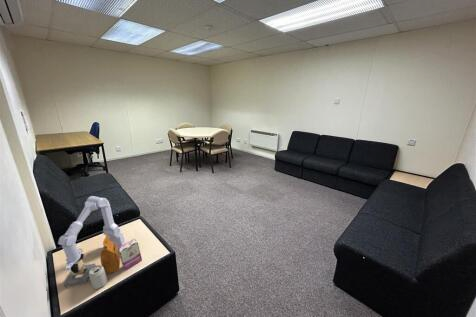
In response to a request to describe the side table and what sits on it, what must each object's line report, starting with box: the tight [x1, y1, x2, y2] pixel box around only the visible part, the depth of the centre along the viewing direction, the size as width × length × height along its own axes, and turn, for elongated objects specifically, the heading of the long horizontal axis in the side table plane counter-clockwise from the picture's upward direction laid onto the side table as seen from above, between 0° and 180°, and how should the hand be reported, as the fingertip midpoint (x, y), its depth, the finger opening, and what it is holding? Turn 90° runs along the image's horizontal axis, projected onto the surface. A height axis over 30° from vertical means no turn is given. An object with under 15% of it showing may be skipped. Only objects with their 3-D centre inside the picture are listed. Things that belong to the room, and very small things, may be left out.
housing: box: [63, 263, 97, 288], centre depth 126 cm, size 12×12×2 cm
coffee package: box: [99, 235, 121, 275], centre depth 129 cm, size 10×12×22 cm
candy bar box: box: [117, 238, 143, 271], centre depth 132 cm, size 11×5×16 cm, turn 137°
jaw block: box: [72, 259, 85, 276], centre depth 123 cm, size 4×4×7 cm
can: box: [89, 264, 108, 290], centre depth 119 cm, size 8×8×12 cm
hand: (78, 268), depth 124 cm, fingers closed on jaw block, 4 cm apart
